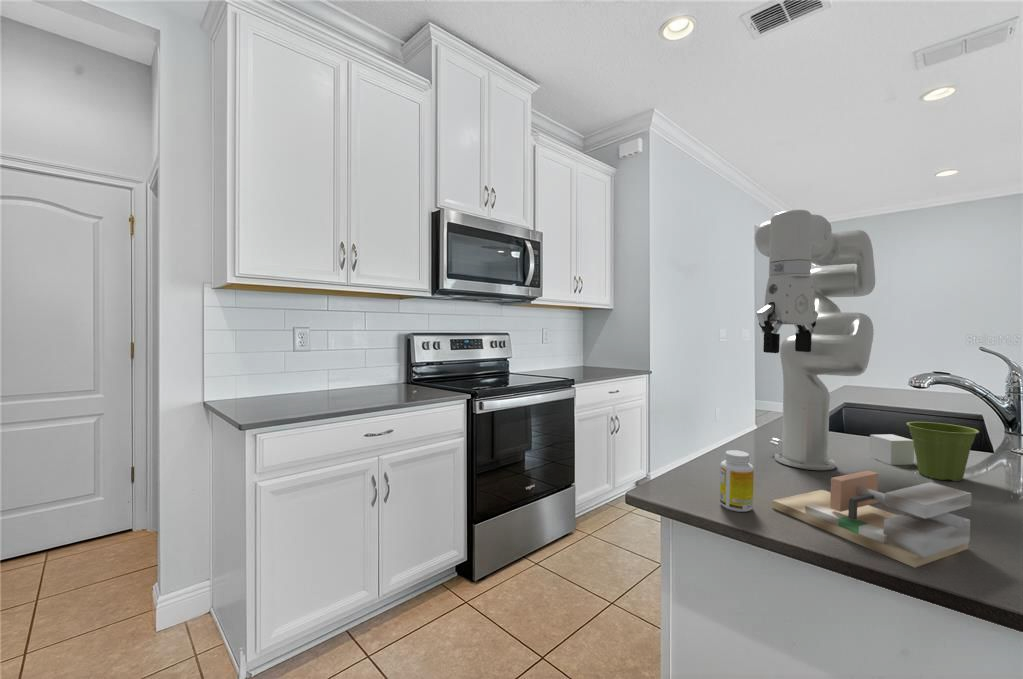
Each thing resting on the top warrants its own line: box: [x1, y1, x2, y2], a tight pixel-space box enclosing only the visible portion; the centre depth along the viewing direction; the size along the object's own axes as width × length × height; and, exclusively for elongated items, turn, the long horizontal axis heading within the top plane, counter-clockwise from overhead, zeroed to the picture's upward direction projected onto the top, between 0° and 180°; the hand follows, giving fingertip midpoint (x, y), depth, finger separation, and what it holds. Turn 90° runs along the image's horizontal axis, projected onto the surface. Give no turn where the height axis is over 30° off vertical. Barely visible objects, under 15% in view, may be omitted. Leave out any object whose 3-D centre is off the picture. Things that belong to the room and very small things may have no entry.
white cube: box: [869, 433, 915, 466], centre depth 113 cm, size 6×6×6 cm
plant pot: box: [906, 421, 980, 482], centre depth 101 cm, size 12×12×11 cm
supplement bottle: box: [719, 449, 755, 513], centre depth 84 cm, size 6×6×10 cm
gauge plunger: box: [830, 470, 964, 529], centre depth 71 cm, size 15×11×5 cm
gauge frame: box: [771, 481, 972, 569], centre depth 76 cm, size 22×14×9 cm, turn 22°
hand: (787, 352), depth 95 cm, fingers open, 9 cm apart
